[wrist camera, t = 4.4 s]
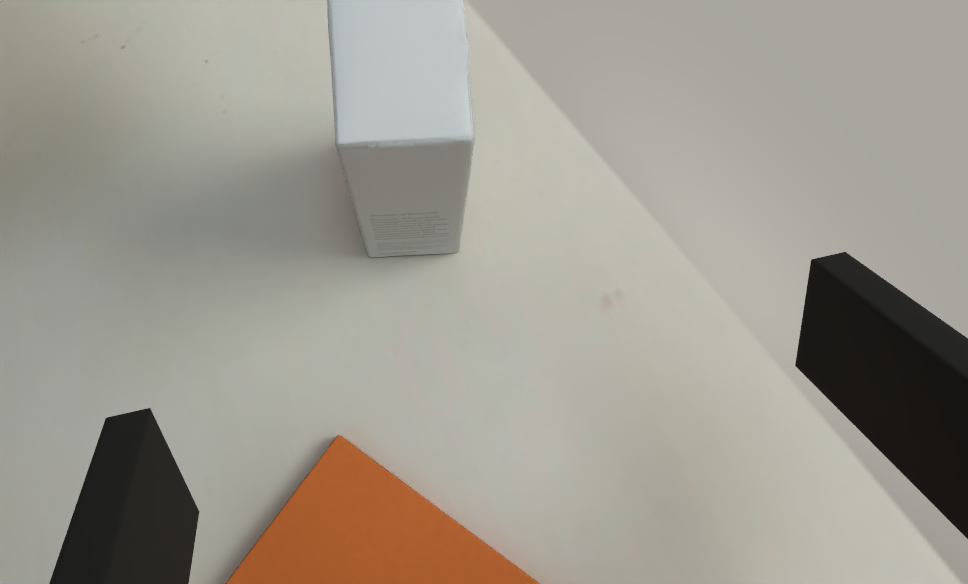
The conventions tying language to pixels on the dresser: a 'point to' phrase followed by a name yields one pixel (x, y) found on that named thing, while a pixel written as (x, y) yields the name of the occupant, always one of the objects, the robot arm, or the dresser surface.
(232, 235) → the dresser surface
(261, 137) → the dresser surface
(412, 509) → the orange rectangular board
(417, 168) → the cosmetic box
